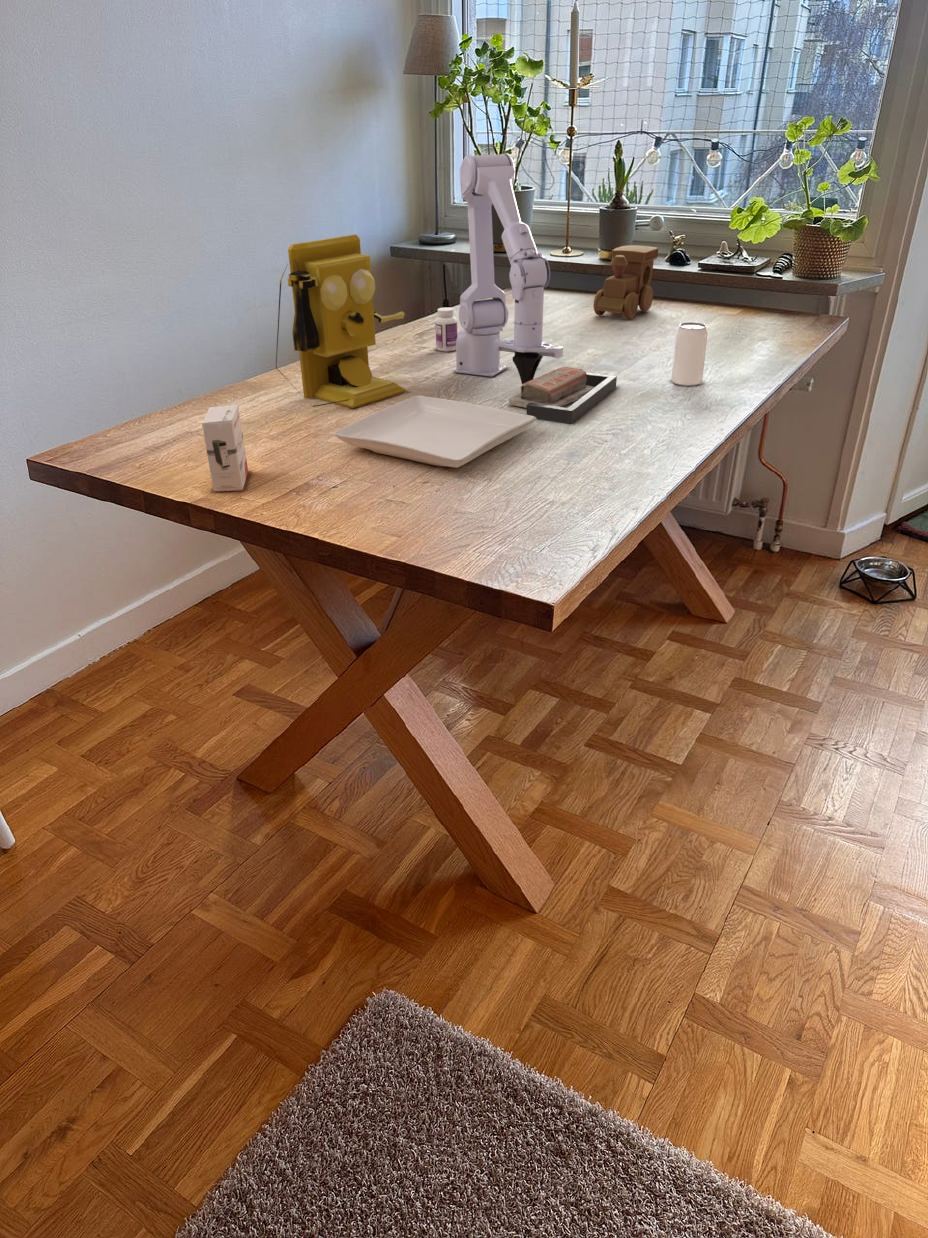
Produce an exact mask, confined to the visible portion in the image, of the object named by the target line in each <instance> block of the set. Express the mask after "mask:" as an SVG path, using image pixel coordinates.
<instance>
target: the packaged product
mask: <svg viewBox="0 0 928 1238" xmlns="http://www.w3.org/2000/svg"><path fill="white" fill-rule="evenodd" d="M587 373H588V372H586V371H585V370H583V369H582V368H576V367H570V366H561V367H559V368H557V369H554V370H551V371H549V372H547V373H544V374H542V375H539V376H537V377H534V378H533V380H530V381H528V382H526V383H524V384H522V383H521V386H520V392H519V393H517V394H515V395H513V396H510V397H509V398H508V403H509V406H513V407H520V408H526V409H527V404H528V403H536V404H543V405H550V406H557V407H564V406H566V405H568V404H571V403H575V402H576V401H578V400H579V399H580V398H582V397H583V396H584V395H585V394H587V393H588V392H589V391H591V390H592V389H593V388H595V387H593V386H588V385H585V384H586V383H587V378H586V377H587Z"/></svg>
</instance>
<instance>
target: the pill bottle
mask: <svg viewBox="0 0 928 1238" xmlns="http://www.w3.org/2000/svg"><path fill="white" fill-rule="evenodd" d="M454 315H455V309H454V307H450V306H449V307H446V306H445V307H439V308H437V317H436V318H435V321H434V325H435V347H436V350H437V351H439V352H455V351H456V340H457V336H458V334H459V333H458V320H457V317H455V316H454Z"/></svg>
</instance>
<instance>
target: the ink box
mask: <svg viewBox="0 0 928 1238" xmlns="http://www.w3.org/2000/svg"><path fill="white" fill-rule="evenodd" d="M241 421H242V420H241V414H240V409H239V405H238V404H231V405H220V406H219V405H217V406H210V407H209V408H208V410H207V412H206V414H205V416H204V419H203V421H202V422H201V426H202V432H203V438H204V443H205V450H206V455H207V462H208V466H209V473H210V479H211V484H212V491H213V492H234V491H243V490H244V487H245V484H246V480H247V477H248V473H249V466H248V461H247V454H246V447H245V441H244V434H243V429H242V427H243V426H242V422H241Z"/></svg>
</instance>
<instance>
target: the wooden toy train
mask: <svg viewBox="0 0 928 1238" xmlns="http://www.w3.org/2000/svg"><path fill="white" fill-rule="evenodd" d="M658 256H659V247H655V246H649V245H639V244H638V245H636V244H635V245H634V244H633V245H632V244H631V245H621V246H619V247H614V249H612V251H611V261H610V266H611V269H612V272H613V275H612V276H609V277H607V278H605V279H604V282H603V288H602V289H599V290H598V291H597V292H596V293H595V296H594V299H593V312H594V313H595V315H597V316H598V317H601V316H603V315H604V314H605V313H616V314H623V316H624V318H625V319H627V320H632V319H633V318H634V317H635V316H636V314H637V311H638V308H639V310H640V311H641V312H642V313H646V312H648V311H649V310H650V309H651V308H652V307H651V306H652V304H653V300H654V291H653V289H652V287H651V286H650V285H651V282H652V276H653V270H654V261H655V260H656V259H658Z"/></svg>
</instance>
